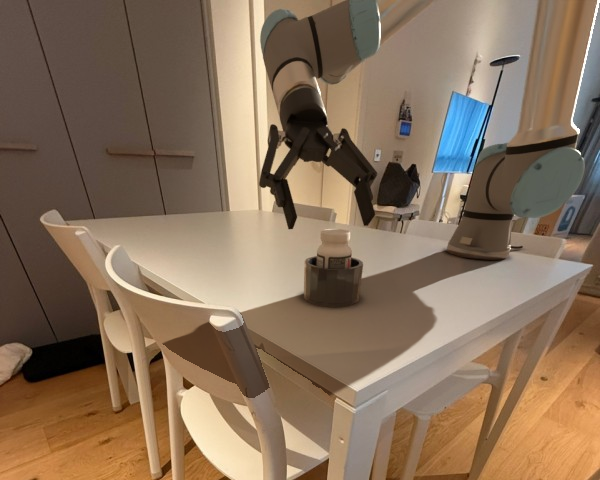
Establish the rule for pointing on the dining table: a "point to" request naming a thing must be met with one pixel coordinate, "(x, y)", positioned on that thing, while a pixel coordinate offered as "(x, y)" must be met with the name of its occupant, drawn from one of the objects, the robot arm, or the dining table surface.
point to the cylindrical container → (332, 284)
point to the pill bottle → (334, 249)
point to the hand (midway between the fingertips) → (332, 222)
